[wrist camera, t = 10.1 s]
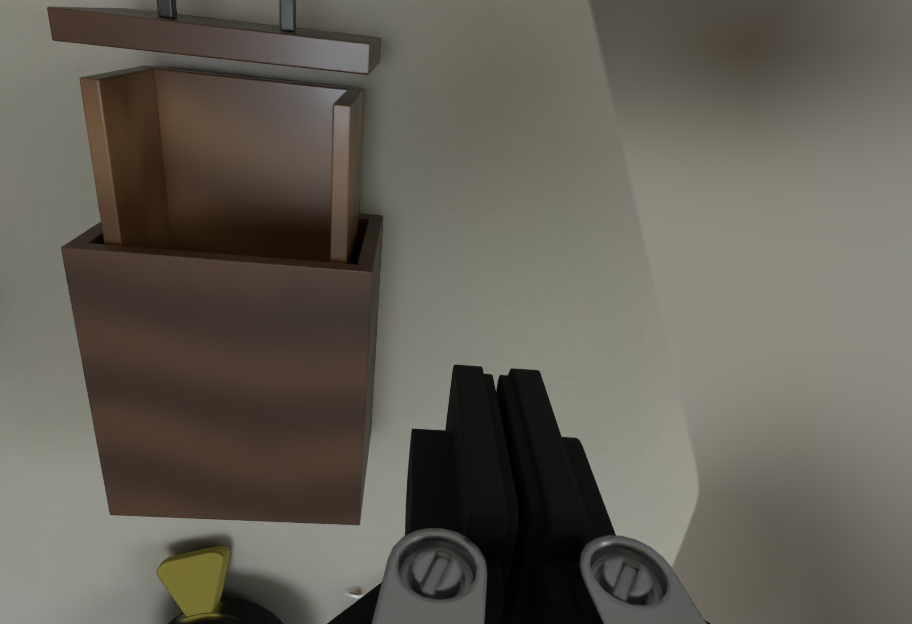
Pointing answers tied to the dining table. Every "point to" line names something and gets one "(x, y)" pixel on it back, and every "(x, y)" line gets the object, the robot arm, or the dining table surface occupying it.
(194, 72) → the pull-out drawer box
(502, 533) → the robot arm
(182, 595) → the alarm clock
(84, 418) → the dining table surface
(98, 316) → the cabinet
